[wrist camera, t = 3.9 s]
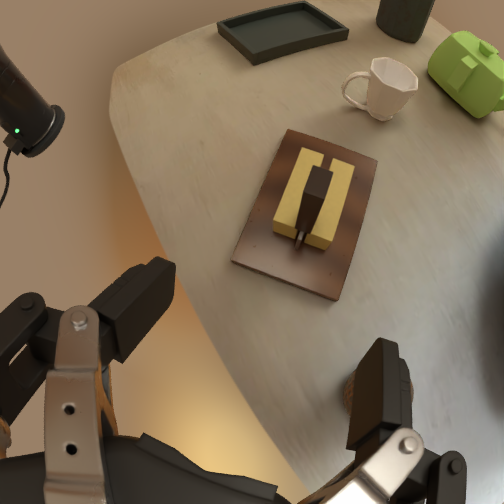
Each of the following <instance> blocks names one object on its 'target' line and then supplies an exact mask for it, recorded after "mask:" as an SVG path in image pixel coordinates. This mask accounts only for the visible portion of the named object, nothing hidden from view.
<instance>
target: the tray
mask: <svg viewBox="0 0 504 504" xmlns="http://www.w3.org/2000/svg"><path fill="white" fill-rule="evenodd" d="M217 28H218V33H219V34H221V35H222V36H223V37H224V38H225V39H226V40H227V41H228V42H230V43H231V44H232V45H233V46H234V47H235V48H236V49H237V50H238V51H239V52H240V53H241V54H243V55H244V56H245V57H246V58H247V59H248V60H249V61H250V62H251V63H252V64H253V65H257V64H260V63H263V62H266V61H269V60H272V59H275V58H278V57H281V56H284V55H288V54H291V53H294V52H298V51H301V50H305V49H309V48H313V47H316V46H320V45H325V44H329V43H333V42H338V41H342V40H347V37H348V33H349V29H348V28H346V27H345V26H344V25H342V24H341V23H339V22H338V21H336V20H335V19H333V18H332V17H330V16H329V15H327V14H326V13H324V12H323V11H321V10H320V9H318V8H316V7H315V6H313V5H311V4H310V3H308V2H306V1H299V2H294V3H288V4H283V5H278V6H274V7H269V8H265V9H261V10H257V11H253V12H249V13H246V14H242V15H239V16H235V17H232V18H229V19H226V20H223V21H221V22H217Z"/></svg>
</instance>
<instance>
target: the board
mask: <svg viewBox="0 0 504 504" xmlns="http://www.w3.org/2000/svg"><path fill="white" fill-rule="evenodd" d="M302 147H303V148H306V149H309V150H312V151H315V152H318V153H321V154H324V157H323V161H322V164H321V168H324V169H327V170H329V168H330V165H331V162H332V160H333V158H334V159H337V160H340V161H342V162H345V163H348V164H350V165H353V166H355V168H354V171H353V175H352V178H351V182H350V185H349V189H348V192H347V196H346V199H345V202H344V206H343V209H342V212H341V216H340V219H339V222H338V225H337V228H336V232H335V235H334V238H333V241H332V243H331V244H330V245H329V247H328V248H327V249H326V250H322V249H320V248H317V247H315V246H312V245H309V244H307V243H304V240H305V238H306V235H307V233H305V232H304V235H303V238H302V240H301V243H300V246H299V249H298V250H296V249H295V245H296V242H297V239H298V236H299V233H300V230H298V232H297V235H296V238H295V239H293V238H290V237H288V236H285V235H282V234H279V233H277V232H274V231H273V219H274V216H275V214H276V211H277V209H278V206H279V204H280V201H281V199H282V196H283V194H284V191H285V189H286V186H287V184H288V181H289V179H290V176H291V174H292V171H293V169H294V166H295V164H296V161H297V159H298V156H299V154H300V151H301V149H302ZM377 162H378V161H377V160H374V159H372V158H370V157H367V156H365V155H362V154H359V153H357V152H354V151H352V150H349V149H346V148H344V147H341V146H338V145H335V144H333V143H330V142H327V141H324V140H321V139H318V138H315V137H312V136H309V135H306V134H303V133H300V132H296V131H293V130H290V129H287V131H286V133H285V136H284V138H283V140H282V142H281V145H280V147H279V149H278V151H277V154H276V156H275V158H274V161H273V163H272V165H271V167H270V170H269V172H268V174H267V176H266V179H265V181H264V183H263V186H262V188H261V190H260V193H259V195H258V197H257V199H256V202H255V204H254V206H253V209H252V211H251V213H250V216H249V218H248V220H247V223H246V225H245V227H244V230H243V232H242V234H241V237H240V239H239V241H238V244H237V246H236V248H235V251H234V253H233V255H232V258H231V261H232V262H233V263H235V264H238V265H241V266H243V267H246V268H248V269H251V270H254V271H256V272H259V273H261V274H264V275H267V276H269V277H272V278H274V279H277V280H280V281H282V282H285V283H288V284H290V285H293V286H295V287H298V288H301V289H303V290H306V291H309V292H311V293H314V294H317V295H319V296H322V297H325V298H328V299H330V300H333V301H338V300H339V297H340V294H341V291H342V288H343V285H344V282H345V279H346V276H347V273H348V270H349V267H350V263H351V260H352V257H353V254H354V250H355V247H356V244H357V240H358V237H359V233H360V230H361V226H362V223H363V219H364V215H365V211H366V208H367V204H368V200H369V196H370V192H371V188H372V184H373V179H374V175H375V171H376V166H377Z"/></svg>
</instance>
